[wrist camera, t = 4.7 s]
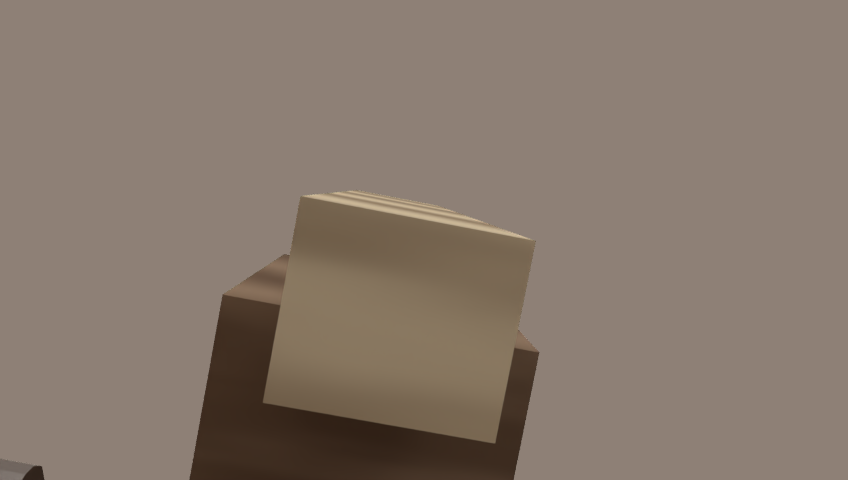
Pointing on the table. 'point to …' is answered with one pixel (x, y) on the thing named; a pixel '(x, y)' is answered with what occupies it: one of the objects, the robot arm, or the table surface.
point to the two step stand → (323, 433)
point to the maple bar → (398, 315)
